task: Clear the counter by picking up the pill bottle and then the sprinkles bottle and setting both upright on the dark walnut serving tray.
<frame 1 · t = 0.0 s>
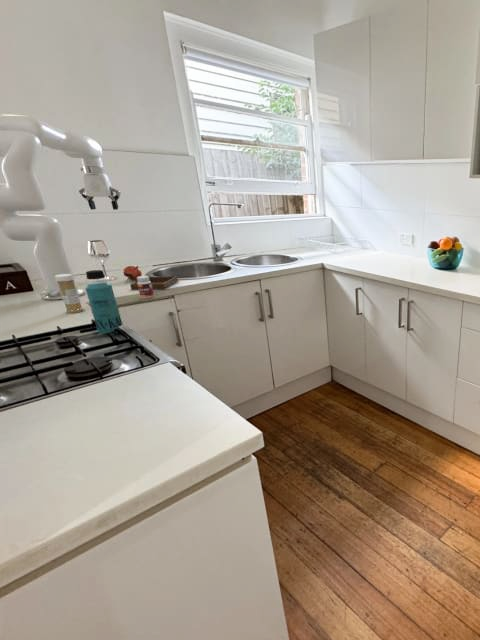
hand: (104, 209, 185), 31 cm above the worktop, tool pointing down, fingers open, 9 cm apart
pomegranate: (133, 281, 182), on the worktop
wineglass: (106, 279, 184), on the worktop
pill bottle: (147, 297, 157), on the worktop
tray: (155, 285, 174), on the worktop
beverage bottle: (112, 335, 118), on the worktop
sprinkles bottle: (75, 312, 138), on the worktop
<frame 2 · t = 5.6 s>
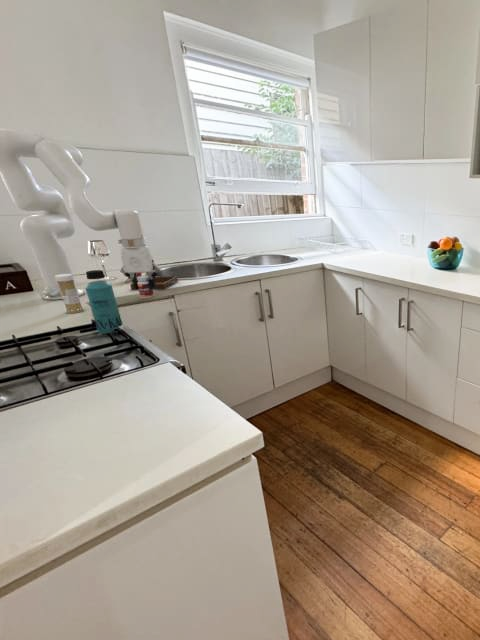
hand: (145, 288, 156), 4 cm above the worktop, tool pointing down, fingers closed on pill bottle, 4 cm apart
pill bottle: (147, 297, 157), on the worktop, touching gripper
everything else where it was.
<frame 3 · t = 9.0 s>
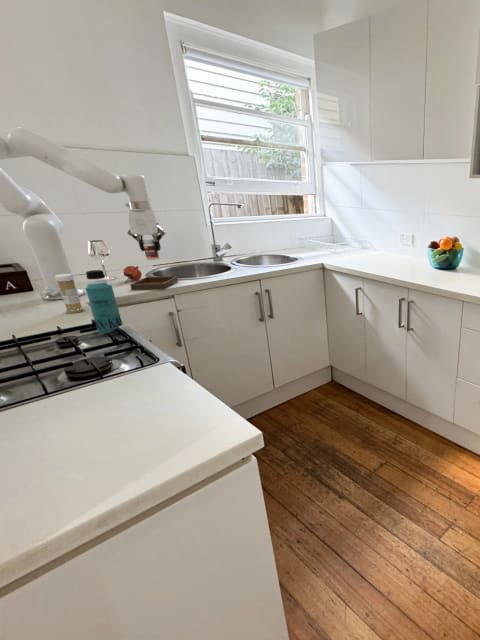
hand: (151, 250, 165), 17 cm above the worktop, tool pointing down, fingers closed on pill bottle, 4 cm apart
pill bottle: (153, 259, 167), point 13 cm above the worktop, touching gripper
everything else where it was.
when the fingers open (4 cm above the worktop, at t = 12.2 s): pill bottle stays where it is, resting on tray.
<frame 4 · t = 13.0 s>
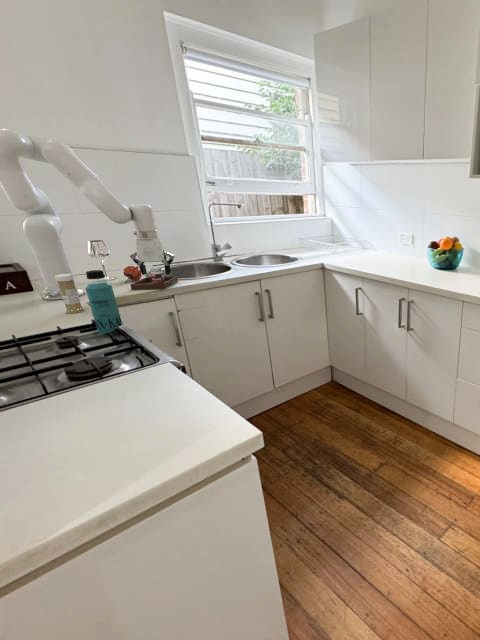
hand: (156, 274, 170), 6 cm above the worktop, tool pointing down, fingers open, 9 cm apart
pill bottle: (159, 286, 172), resting on tray
everything else where it was.
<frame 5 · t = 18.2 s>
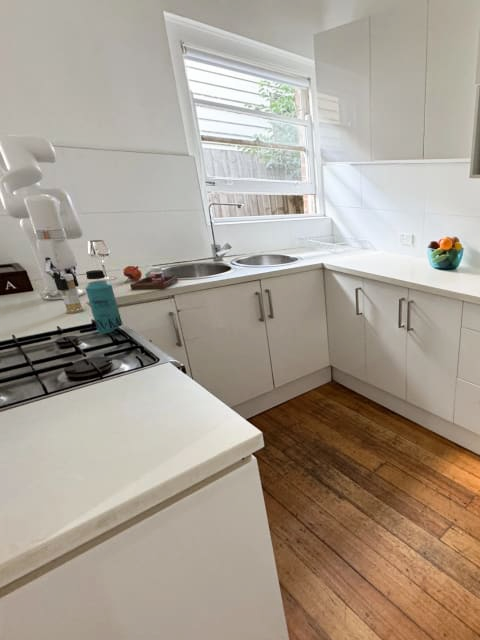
hand: (68, 287, 134), 9 cm above the worktop, tool pointing down, fingers closed on sprinkles bottle, 4 cm apart
sprinkles bottle: (75, 312, 138), on the worktop, touching gripper
everything else where it was.
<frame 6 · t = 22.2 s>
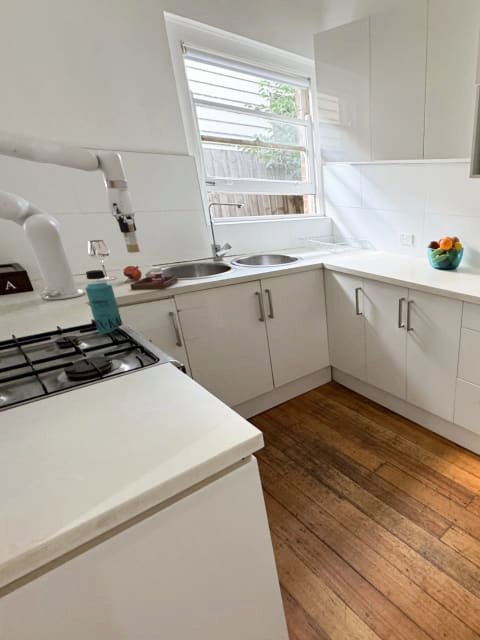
hand: (128, 231, 162), 24 cm above the worktop, tool pointing down, fingers closed on sprinkles bottle, 4 cm apart
sprinkles bottle: (134, 252, 165), point 16 cm above the worktop, touching gripper
everything else where it was.
when the fingers open (9 cm above the worktop, at t = 26.5 s): sprinkles bottle stays where it is, resting on tray.
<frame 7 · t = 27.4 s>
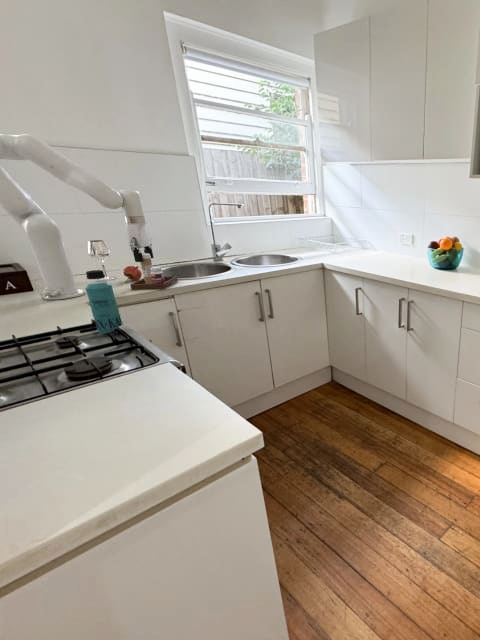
hand: (144, 260, 172), 11 cm above the worktop, tool pointing down, fingers open, 9 cm apart
sprinkles bottle: (151, 283, 176), resting on tray
everything else where it was.
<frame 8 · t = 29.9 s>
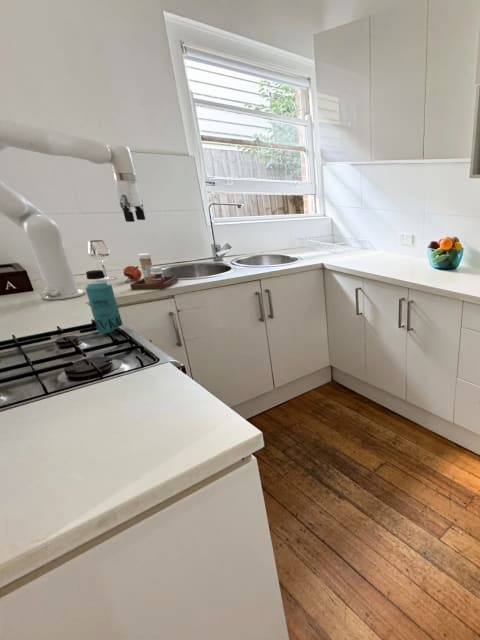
hand: (136, 220, 166), 28 cm above the worktop, tool pointing down, fingers open, 9 cm apart
nothing on the worktop moved.
at the end: pill bottle inside the target area in the tray (4.2 cm from its centre), point 0.3 cm above the tray's base; sprinkles bottle inside the target area in the tray (4.2 cm from its centre), point 0.3 cm above the tray's base; sprinkles bottle tilted 0° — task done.
